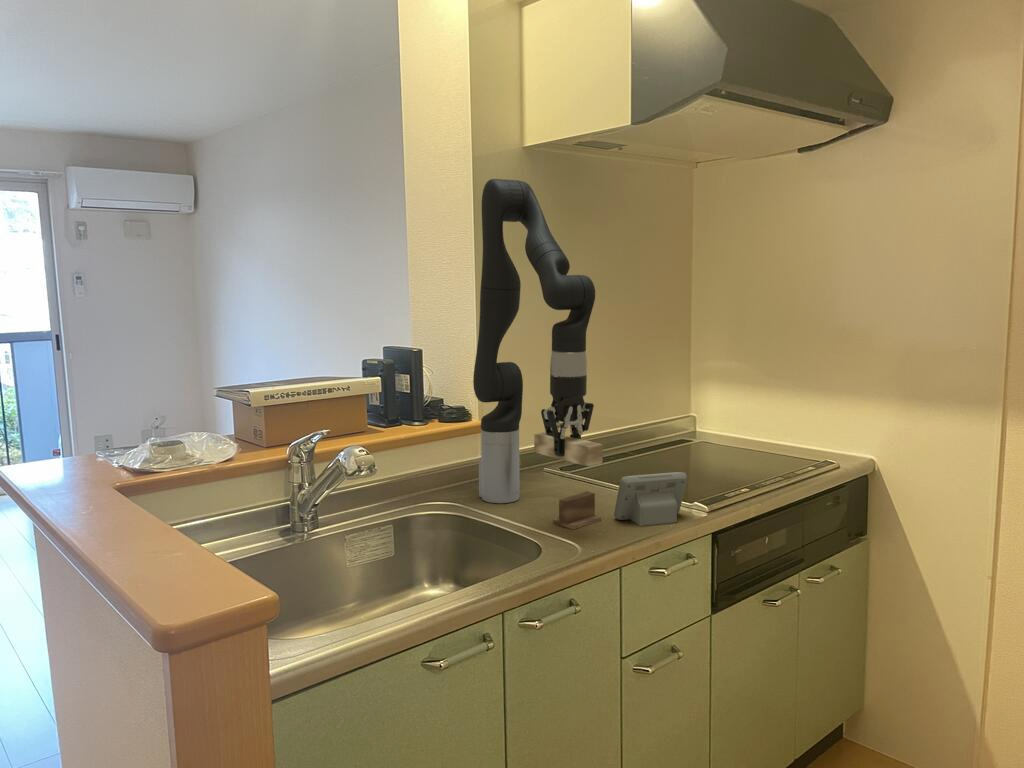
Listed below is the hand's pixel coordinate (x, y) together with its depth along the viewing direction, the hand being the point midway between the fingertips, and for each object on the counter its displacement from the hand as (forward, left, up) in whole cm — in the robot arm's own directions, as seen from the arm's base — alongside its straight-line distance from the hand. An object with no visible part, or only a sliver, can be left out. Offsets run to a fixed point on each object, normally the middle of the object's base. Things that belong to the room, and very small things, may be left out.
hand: (567, 453), depth 163 cm
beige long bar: (0, 0, -1) cm, 1 cm away
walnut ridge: (-3, +6, -17) cm, 18 cm away
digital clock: (+7, +20, -17) cm, 27 cm away
